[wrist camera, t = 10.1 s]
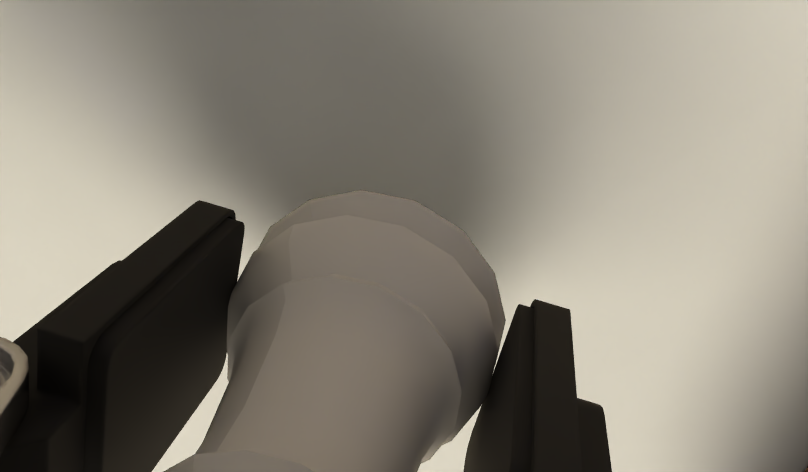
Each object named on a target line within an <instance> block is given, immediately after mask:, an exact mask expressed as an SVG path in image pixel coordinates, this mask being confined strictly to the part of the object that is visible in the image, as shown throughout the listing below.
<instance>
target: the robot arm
mask: <svg viewBox="0 0 808 472" xmlns="http://www.w3.org/2000/svg"><path fill="white" fill-rule="evenodd" d="M244 229H245V228H244V223H243V222H240V221H237V220H236V217H235V212H234V210H231V209H227V208H224V207H221V206H217V205H214V204H210V203H207V202H204V201H200V200H199V201H197V202H195V203H194V204H193V205H192V206H190V207H189V208H188V209H187V210H185V211H184V212H183V213H182V214H180V215H179V216H178V217H177V218H175V219H174V220H173V221H172V222H170V223H169V224H168V225H166V226H165V227H164V228H163V229H161V230H160V231H159V232H158V233H156V234H155V235H154V236H153V237H151V238H150V239H149V240H148V241H146V242H145V243H144V244H143V245H141V246H140V247H139V248H138V249H136V250H135V251H134V252H133V253H131V254H130V255H129V256H128V257H126V258H125V259H124V260H122V261H117V262H115V263H114V264H112V265H110V266H109V267H108V268H107V269H105V270H104V271H103V272H102V273H100V274H99V275H98V276H96V277H95V278H94V279H93V280H91V281H90V282H89V283H88V284H86V285H85V286H84V287H82V288H81V289H80V290H79V291H77V292H76V293H75V294H73V295H72V296H71V297H70V298H68V299H67V300H66V301H65V302H63V303H62V304H61V305H59V306H58V307H57V308H56V309H54V310H53V311H52V312H51V313H49V314H48V315H47V316H45V317H44V318H43V319H42V320H40V321H39V322H38V323H37V324H35V325H34V326H33V327H31V328H30V329H29V330H28V331H26V332H25V333H24V334H23V335H21V336H20V337H19V338H17V339H16V340H15V341H14V342H11V341H9V340H8V339H6V338H2V337H0V472H152V470H153V469H154V467H155V466H156V465H157V463H158V462H159V460H160V459H161V458H162V456H163V455H164V453H165V452H166V451H167V449H168V448H169V446H170V445H171V444H172V442H173V441H174V439H175V438H176V437H177V435H178V434H179V432H180V431H181V430H182V428H183V427H184V425H185V424H186V423H187V421H188V420H189V418H190V417H191V416H192V414H193V413H194V411H195V410H196V409H197V407H198V406H199V404H200V403H201V402H202V400H203V399H204V397H205V396H206V395H207V393H208V392H209V390H210V389H211V388H212V386H213V385H214V383H215V382H216V381H217V379H218V377H219V376H220V374H221V371H222V369H223V366H224V363H225V359H226V353H227V351H226V350H227V321H228V305H229V301H230V297H231V293H232V291H233V289H234V287H235V285H236V283H237V278H238V271H239V265H240V258H241V251H242V244H243V237H244ZM464 472H612V469H611V462H610V454H609V446H608V438H607V431H606V423H605V415H604V411H603V407H601V406H600V405H599V404H595V403H592V402H589V401H585V400H582V399H579V398H577V394H576V381H575V367H574V354H573V341H572V328H571V315H570V310H569V309H566V308H563V307H559V306H556V305H553V304H549V303H546V302H542V301H539V300H536V299H535V300H534V301H533V302H532V304H531V306H530V307H527V306H524V305H521V304H519V305H518V307H517V309H516V311H515V314H514V317H513V319H512V322H511V325H510V328H509V331H508V333H507V336H506V339H505V342H504V345H503V347H502V350H501V353H500V356H499V359H498V361H497V364H496V367H495V370H494V373H493V375H492V379H491V383H490V387H489V391H488V394H487V397H486V398H485V400H484V401H483V403H482V406H481V409H480V412H479V414H478V417H477V420H476V423H475V426H474V428H473V431H472V434H471V437H470V441H469V444H468V448H467V453H466V458H465V465H464Z"/></svg>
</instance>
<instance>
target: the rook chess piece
mask: <svg viewBox="0 0 808 472" xmlns="http://www.w3.org/2000/svg"><path fill="white" fill-rule="evenodd" d="M505 321H506V320H505V316H504V311H503V307H502V303H501V298H500V294H499V289H498V285H497V281H496V276H495V273H494V271H493V270H492V269H491V267H490V266H489V265H488V263H487V262H486V261H485V259H484V258H483V257H482V255H481V254H480V252H479V251H478V250H477V248H476V247H475V246H474V244H473V243H472V242H471V240H470V239H469V238H468V236H467V235H466V234H465V232H464V231H463V230H462V229H460V228H459V227H457V226H455V225H454V224H452V223H451V222H449V221H447V220H446V219H444V218H443V217H441V216H439V215H438V214H436V213H434V212H433V211H431V210H430V209H428V208H426V207H425V206H423V205H422V204H420V203H418V202H417V201H415V200H410V199H405V198H400V197H394V196H389V195H384V194H379V193H374V192H369V191H364V190H357V191H352V192H347V193H342V194H336V195H331V196H326V197H321V198H315V199H310V200H308V201H307V202H305V203H304V204H302V205H301V206H299V207H298V208H297V209H295V210H294V211H292V212H291V213H289V214H288V215H287V216H285V217H284V218H282V219H281V220H279V221H278V222H277V223H275V224H274V225H272V226H271V227H270V228H269V230H268V232H267V233H266V235H265V237H264V239H263V241H262V243H261V244H260V246H259V248H258V250H256V251H255V252H253V254H252V256H251V258H250V260H249V261H248V263H247V265H246V267H245V269H244V271H243V272H242V274H241V276H240V278H239V280H238V282H237V283H236V285H235V287H234V289H233V291H232V293H231V297H230V301H229V305H228V321H227V350H226V351H227V353H228V376H227V378H228V381H229V384H228V386H227V388H226V390H225V393H224V395H223V397H222V400H221V402H220V404H219V406H218V409H217V411H216V413H215V416H214V418H213V420H212V422H211V425H210V427H209V429H208V432H207V434H206V436H205V438H204V441H203V443H202V444H201V446H200V447H199V449H198V450H197V452H196V453H195V455H192V456H191V457H189V458H187V459H185V460H184V461H182V462H180V463H178V464H176V465H175V466H173V467H171V468H169V469H168V470H166V471H164V472H417V471H418V468H419V466H420V464H421V463H423V462H425V461H427V460H430V458H431V457H432V456H433V455H434V454H435V452H436V451H437V450H438V449H439V448H440V446H441V445H444V444H446V443H448V442H450V441H452V440H453V438H454V437H455V436H456V435H457V434H458V432H459V431H460V430H461V429H462V428H463V426H464V425H465V424H466V423H467V422H468V421H469V419H470V418H471V417H472V416H473V415H474V413H475V412H476V411H477V410H478V409H479V407H480V406H481V404H482V403H483V401H484V400H485V398H486V397H487V394H488V391H489V387H490V383H491V379H492V375H493V371H494V366H495V364H496V360H497V355H498V351H499V347H500V343H501V338H502V334H503V330H504V325H505Z"/></svg>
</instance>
